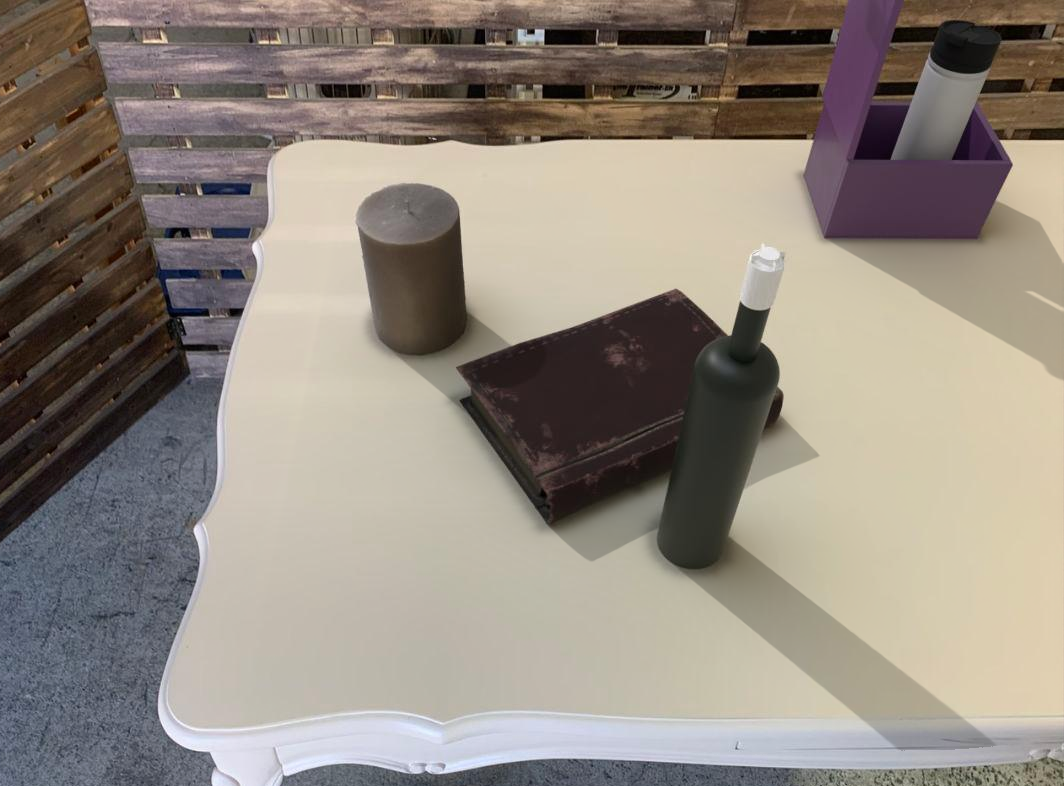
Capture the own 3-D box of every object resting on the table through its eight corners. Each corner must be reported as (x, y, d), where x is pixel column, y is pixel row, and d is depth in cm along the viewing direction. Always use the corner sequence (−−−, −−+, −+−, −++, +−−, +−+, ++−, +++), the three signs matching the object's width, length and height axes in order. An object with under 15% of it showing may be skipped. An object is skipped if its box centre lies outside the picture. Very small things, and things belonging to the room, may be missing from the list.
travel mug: (864, 203, 106) (927, 25, 90) (894, 181, 109) (961, 5, 93) (911, 226, 104) (984, 48, 87) (940, 203, 106) (1017, 25, 90)
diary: (776, 432, 86) (789, 394, 82) (550, 533, 78) (552, 497, 74) (665, 317, 95) (672, 278, 91) (454, 399, 88) (451, 360, 84)
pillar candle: (482, 341, 93) (477, 213, 81) (394, 370, 90) (376, 243, 78) (444, 286, 98) (434, 158, 86) (359, 313, 95) (337, 185, 83)
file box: (944, 180, 111) (977, 102, 103) (975, 243, 103) (1013, 164, 95) (802, 179, 110) (824, 101, 102) (822, 242, 103) (848, 163, 95)
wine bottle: (732, 565, 77) (834, 276, 52) (668, 578, 76) (741, 290, 51) (709, 513, 80) (794, 218, 55) (647, 525, 79) (707, 231, 55)
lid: (880, -90, 87) (829, -90, 87) (914, -33, 80) (858, -33, 80) (829, 97, 102) (785, 97, 102) (853, 159, 95) (806, 159, 95)
